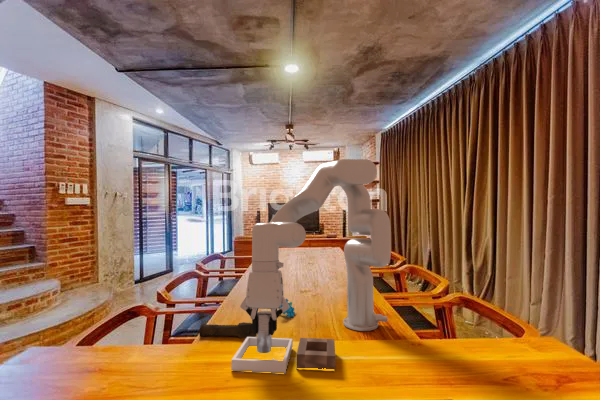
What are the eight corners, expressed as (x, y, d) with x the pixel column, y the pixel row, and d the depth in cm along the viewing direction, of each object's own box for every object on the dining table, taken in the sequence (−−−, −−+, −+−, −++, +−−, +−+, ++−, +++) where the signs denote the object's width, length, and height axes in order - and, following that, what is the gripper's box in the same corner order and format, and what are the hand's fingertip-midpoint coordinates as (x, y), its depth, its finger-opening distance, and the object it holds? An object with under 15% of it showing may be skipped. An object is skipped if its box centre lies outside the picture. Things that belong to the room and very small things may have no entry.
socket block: (334, 353, 81) (334, 339, 82) (335, 372, 71) (335, 356, 72) (300, 351, 82) (300, 337, 83) (296, 370, 72) (296, 354, 73)
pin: (272, 347, 80) (273, 311, 80) (269, 353, 76) (270, 315, 76) (258, 346, 80) (259, 310, 81) (255, 353, 76) (255, 315, 77)
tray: (292, 348, 84) (292, 338, 84) (285, 374, 70) (285, 362, 70) (247, 346, 85) (247, 336, 86) (231, 371, 72) (231, 359, 72)
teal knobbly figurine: (288, 317, 106) (273, 295, 111) (278, 327, 107) (264, 305, 112) (300, 312, 116) (286, 292, 120) (291, 321, 117) (277, 301, 121)
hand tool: (197, 338, 92) (198, 324, 92) (203, 333, 96) (203, 319, 96) (254, 341, 90) (254, 326, 90) (257, 336, 94) (257, 322, 94)
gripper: (295, 264, 82) (295, 328, 81) (240, 263, 84) (239, 326, 83) (292, 269, 75) (292, 340, 74) (232, 268, 77) (230, 337, 75)
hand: (264, 332), depth 78 cm, fingers closed on pin, 4 cm apart
